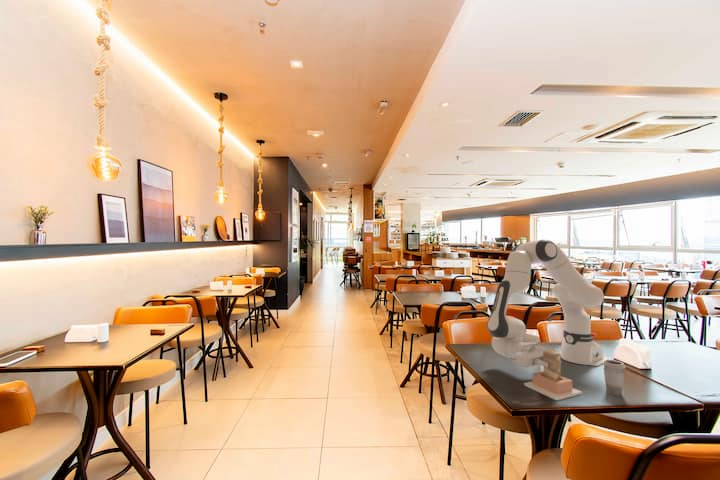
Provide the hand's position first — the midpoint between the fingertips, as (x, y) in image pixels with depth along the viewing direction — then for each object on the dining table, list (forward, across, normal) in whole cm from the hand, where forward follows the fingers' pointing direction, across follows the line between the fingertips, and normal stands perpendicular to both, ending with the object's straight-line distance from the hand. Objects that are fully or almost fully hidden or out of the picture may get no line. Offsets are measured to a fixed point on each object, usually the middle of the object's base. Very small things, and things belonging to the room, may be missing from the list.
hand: (554, 363), depth 127 cm
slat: (-1, 0, +10) cm, 10 cm away
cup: (+10, +20, +11) cm, 25 cm away
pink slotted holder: (-1, 0, +10) cm, 11 cm away
